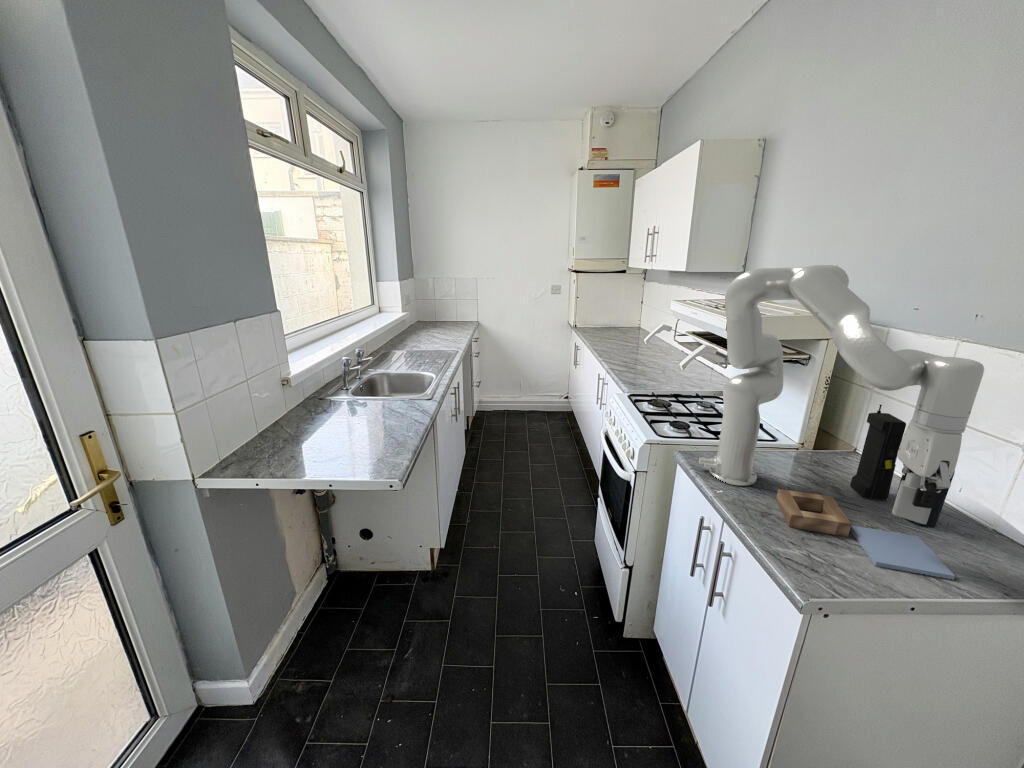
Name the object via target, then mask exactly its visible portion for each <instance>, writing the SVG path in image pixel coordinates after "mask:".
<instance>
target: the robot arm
mask: <svg viewBox="0 0 1024 768" xmlns="http://www.w3.org/2000/svg"><path fill="white" fill-rule="evenodd" d="M849 282H850V281H849V275H848V273H847V272H846V271H845V270H844V269H843V268H841V267H840V266H837V265H833V264H821V265H820V264H819V265H818V264H817V265H815V264H813V265H809V266H800V267H799V266H798V267H772V268H771V267H770V268H769V267H767V268H766V267H764V268H762V267H761V268H754V269H751V270H747V271H745V272H743V273H741V274H740V275H738V276H736V277H735V278H734V279H733V280H732V281H731V283H729V285H728V287H727V289H726V291H725V295H724V308H725V309H724V310H725V316H726V317H725V318H726V344H727V345H726V347H727V348H726V349H727V359H728V362H729V364H730V365H731V366H732V367H733V368H735V369H738V370H748V372H745V373H740V374H737V375H734V376H733V377H731V378H730V379H729V380H727V382H726V383H725V385H724V387H723V391H722V398H723V399H722V400H723V411H722V412H723V414H722V422H721V427H720V428H721V429H720V434H719V439H718V440H719V441H718V449H717V455H714V457H711V458H707V457H702V456H701V457H699V461H698V464H699V465H703V467H704V468H708V470H709V471H708V472H709V473H711V474H712V475H713V476H714V477H713V476H712V475H711V474H710V475H711V476H712V477H713V478H715V477H716V478H717V479H716V478H715V479H716V480H718V479H719V480H718V481H720V480H721V481H720V482H722V481H723V483H725V482H726V483H725V484H729V485H732V486H740V487H743V486H751V485H754V484H755V483H756V482H757V479H758V475H757V474H756V473H755V472H754V470H753V466H754V460H755V454H756V449H757V445H758V437H759V432H760V425H761V414H760V410H759V408H760V406H761V405H763V404H766V403H769V402H772V401H774V400H776V399H777V398H779V397H780V395H781V394H782V392H783V388H784V351H783V350H784V349H783V346H782V343H781V341H780V340H779V338H778V337H776V335H774V334H772V333H769V332H763V318H762V314H761V310H760V309H759V308H758V307H759V306H758V304H759V303H761V302H770V301H781V300H782V301H785V300H789V301H794V300H795V301H797V302H799V304H800V305H802V306H803V307H804V308H805V309H806V310H807V311H808V312H809V313H810V314H811V315H812V317H814V318H815V319H816V320H817V321H818V322H819V323H820V324H821V325H823V327H824V328H825V329H826V330H827V331H828V332H829V334H830V335H831V339H832V342H833V343H834V345H835V348H836V350H837V351H838V353H839V355H840V356H841V358H842V359H843V361H845V362H846V364H847V365H848V366H849V367H850V368H851V369H852V370H853V371H854V372H855V373H856V374H857V375H858V376H859V377H860V378H861V379H863V381H865V382H866V383H868V385H870V386H872V387H873V388H876V389H878V390H882V391H889V392H890V391H891V392H893V391H898V390H901V389H905V388H907V387H912V386H913V387H914V386H920V390H919V394H918V397H917V401H916V405H915V408H914V412H913V415H912V418H911V419H910V421H909V423H908V425H907V426H906V428H905V431H904V434H903V438H902V441H901V444H900V447H899V450H898V454H897V459H898V460H899V462H901V463H902V466H903V467H902V469H901V474H902V475H901V478H900V481H899V484H898V488H897V490H899V487H900V483H901V481H902V480H904V481H905V479H906V476H907V473H915V474H917V475H918V476H920V477H921V483H920V488H917V490H916V493H915V496H914V499H913V503H912V504H913V505H914V506H916V507H923V508H930V509H931V508H933V507H934V504H935V501H936V498H937V494H938V493H940V492H941V490H943V489H946V488H949V489H950V488H951V487H952V485H951V484H952V483H951V484H950V478H951V477H952V475H953V473H954V470H955V471H956V468H957V463H958V460H959V457H960V456H959V455H960V452H961V445H962V440H963V439H962V437H963V433H965V431H966V428H967V424H968V422H969V419H970V416H971V413H972V410H973V406H974V404H975V401H976V397H977V394H978V391H979V389H980V385H981V383H982V379H983V377H984V374H985V367H984V364H982V363H981V362H979V361H977V360H974V359H971V358H965V357H955V356H943V355H937V354H935V353H929V352H925V351H922V350H918V349H909V348H907V349H899V350H893V349H892V348H890V347H889V346H888V345H887V344H886V343H885V342H884V341H883V340H882V339H881V338H880V337H879V335H877V334H876V332H875V331H874V328H873V327H872V325H871V322H870V317H871V316H870V315H871V308H870V306H869V304H867V303H866V302H865V301H864V300H862V299H861V298H860V296H858V295H857V294H856V293H855V292H853V291H852V290H851V289H850V288H849V287H848V286H849ZM933 474H936V476H931V475H933ZM954 474H955V473H954ZM928 479H933V480H935V482H931V483H928Z"/></svg>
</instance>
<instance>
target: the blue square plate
mask: <svg viewBox="0 0 1024 768" xmlns="http://www.w3.org/2000/svg"><path fill="white" fill-rule="evenodd" d="M849 532H851V533H852V535H853V536H854V538H855V539H856V540H857V542H858V543H859V545H860V546H861V548H862V549H863V550H864V552H865V554H867V556H868V558H869V559H870V560H871V562H872V564H874V566H875V567H879V568H886V569H891V570H896V571H903V572H908V573H914V574H918V573H919V575H923V574H925V575H924V576H929V575H930V576H929V577H934V576H935V578H940V577H942V578H941V579H945V578H947V579H946V580H951V579H952V580H953V581H954V580H955V578H956V575H955V574H954V573H953V572H952V571H951V569H949V568H948V566H947V565H945V563H944V562H943V561H942V560H941V558H939V557H938V556H937V554H935V552H933V550H932V549H931V548H930V547H929V546H928V545H927V544H926V543H925V542H924V541H923V540H922V539H921V537H920V536H918V535H914V534H913V535H912V534H907V533H901V532H893V531H889V530H883V529H882V530H881V529H876V528H869V527H861V526H856V525H851V527H850V531H849Z"/></svg>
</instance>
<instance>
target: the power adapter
mask: <svg viewBox="0 0 1024 768" xmlns="http://www.w3.org/2000/svg"><path fill="white" fill-rule="evenodd" d="M931 482H935V480H933V479H928V483H931ZM920 483H921V477H920V476H918V475H917V474H915V473H907V476H906V479H905V481H904V480H902V481H901V483H900V482H899V484H900V487H899V486H898V487H899V490H898V489H897V490H898V491H897V494H896V497H895V501H894V504H893V507H892V512H891V514H893V515H894V516H896V517H900V518H903V519H904V518H905V519H908V520H911V521H915V522H918V523H921V524H927V521H928V518H929V514H930V511H931V509H930V508H923V507H916V506H914V505H913V504H912V503H913V499H914V496H915V493H916V490H917V488H920ZM905 519H904V520H905Z"/></svg>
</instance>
